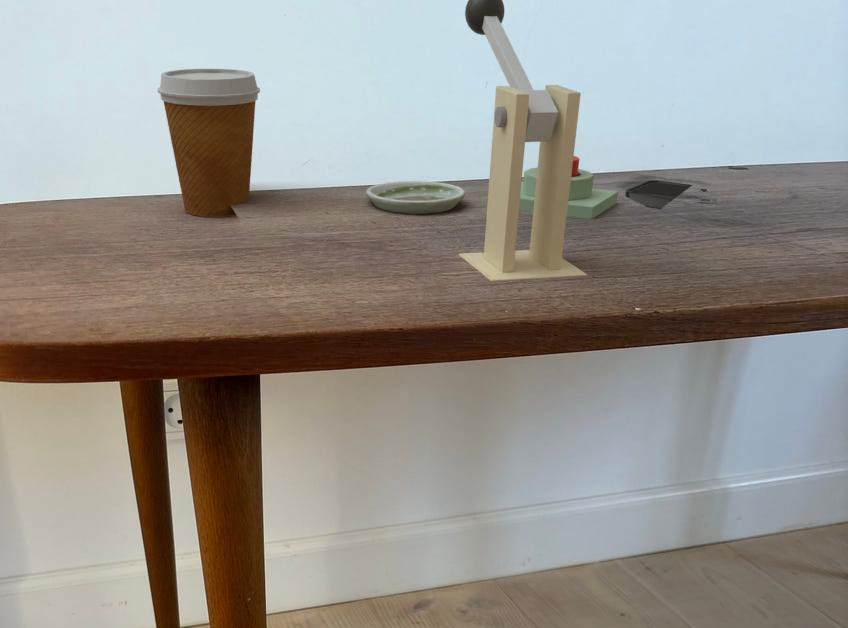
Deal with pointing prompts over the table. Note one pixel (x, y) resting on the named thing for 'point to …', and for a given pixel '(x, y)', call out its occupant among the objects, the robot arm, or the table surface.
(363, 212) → the table surface
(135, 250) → the table surface
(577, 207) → the control block
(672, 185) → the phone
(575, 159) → the button
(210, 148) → the disposable coffee cup
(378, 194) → the saucer
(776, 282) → the table surface
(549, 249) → the lever bracket
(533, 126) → the control lever
